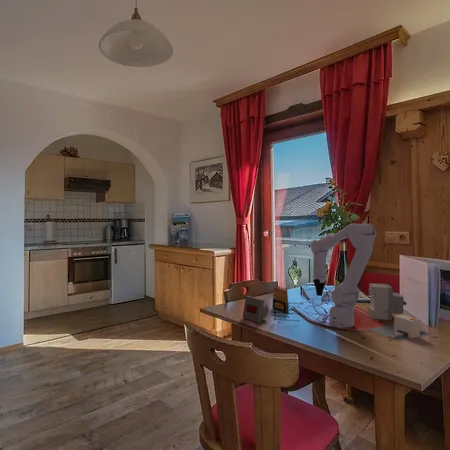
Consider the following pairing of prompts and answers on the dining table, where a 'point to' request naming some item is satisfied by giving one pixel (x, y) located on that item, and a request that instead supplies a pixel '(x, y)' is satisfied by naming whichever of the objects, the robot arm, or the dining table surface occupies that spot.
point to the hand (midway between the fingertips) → (319, 295)
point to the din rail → (401, 334)
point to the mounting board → (390, 329)
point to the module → (407, 325)
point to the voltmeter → (260, 309)
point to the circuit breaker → (384, 302)
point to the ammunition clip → (280, 299)
